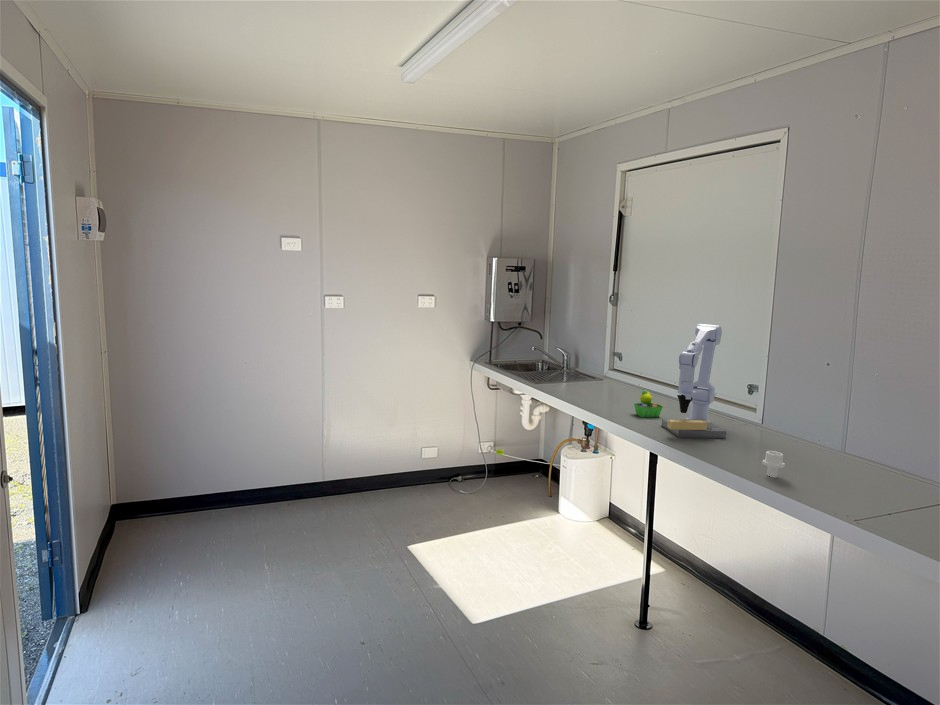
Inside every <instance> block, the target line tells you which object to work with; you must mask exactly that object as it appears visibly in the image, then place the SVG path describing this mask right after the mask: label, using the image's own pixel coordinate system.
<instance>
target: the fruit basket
mask: <svg viewBox="0 0 940 705" xmlns="http://www.w3.org/2000/svg"><path fill="white" fill-rule="evenodd" d="M639 398H640V399H639V400H640V402H638V403H637V402H636V403H633V406H634V409H635V414H636V415H637V416H639V417H641V418H655V417H656V418H657V417H660V414H661V412H662V409H663V408H664V406H663V405H661V404H659V403H656V402H652V400H653V396H652V394H651V393H650V391H648V390H646V389H645V390H642V392H641V395H640V397H639Z"/></svg>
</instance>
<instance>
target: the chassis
mask: <svg viewBox="0 0 940 705" xmlns="http://www.w3.org/2000/svg"><path fill="white" fill-rule="evenodd" d="M668 420H691V419H686V418H684V419H683V418H682V419H681V418H661V427H663V428H664V429H666V430H667V431H669V432H670V433H671V434H673V435H674V436H676V437H677V438H693V439H695V438H697V439H698V438H701V439H726V437H727V431H726V430H725V429H723V428H721V427H719V426H718V425H716V424H715V423H714V422H712V430H684V429H670V428H668V427H667V424H668Z"/></svg>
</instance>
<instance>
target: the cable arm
mask: <svg viewBox="0 0 940 705" xmlns="http://www.w3.org/2000/svg"><path fill="white" fill-rule="evenodd" d="M712 423H713V421H711V420H709V419H708V420H668V424H667V427H668V428H670V429H684V430H712Z"/></svg>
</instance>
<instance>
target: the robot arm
mask: <svg viewBox="0 0 940 705" xmlns="http://www.w3.org/2000/svg"><path fill="white" fill-rule="evenodd" d="M722 330H723V329H722V326H721V325H719V324H718V325H714V324H704V323H698V324H697V325H696V327H695V331H694V332H695V338H694V340H692V341H691V342H690V343H689V344H688V346H687V347H686V349H685V350H684V351H682V352H681V353H680V354H679V357H678V366H679V367H678V368H679V379H678V390H677V393H678V394H677V399H678V401H679V411H680V413H681V414H687V417H685V419H691V420H708V421H709V414H710V413H709V412H710V405H711V404H712V403H713V402H714V401H715V396H716V395H715V390H716V388H715V386H714V384H712V383H711V382H710V381H711V380H710V378H711V373H712V368H713V362H714V354H715V350H716V347H717V346H718V345H720V343H721V339H722V335H723V334H722V332H723V331H722ZM701 353H702V354H701ZM700 355H701V359H700V358H699V356H700ZM699 359H700V366H699V372H698V377H697V381H695V370H696V367H697V365H698V361H699Z"/></svg>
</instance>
